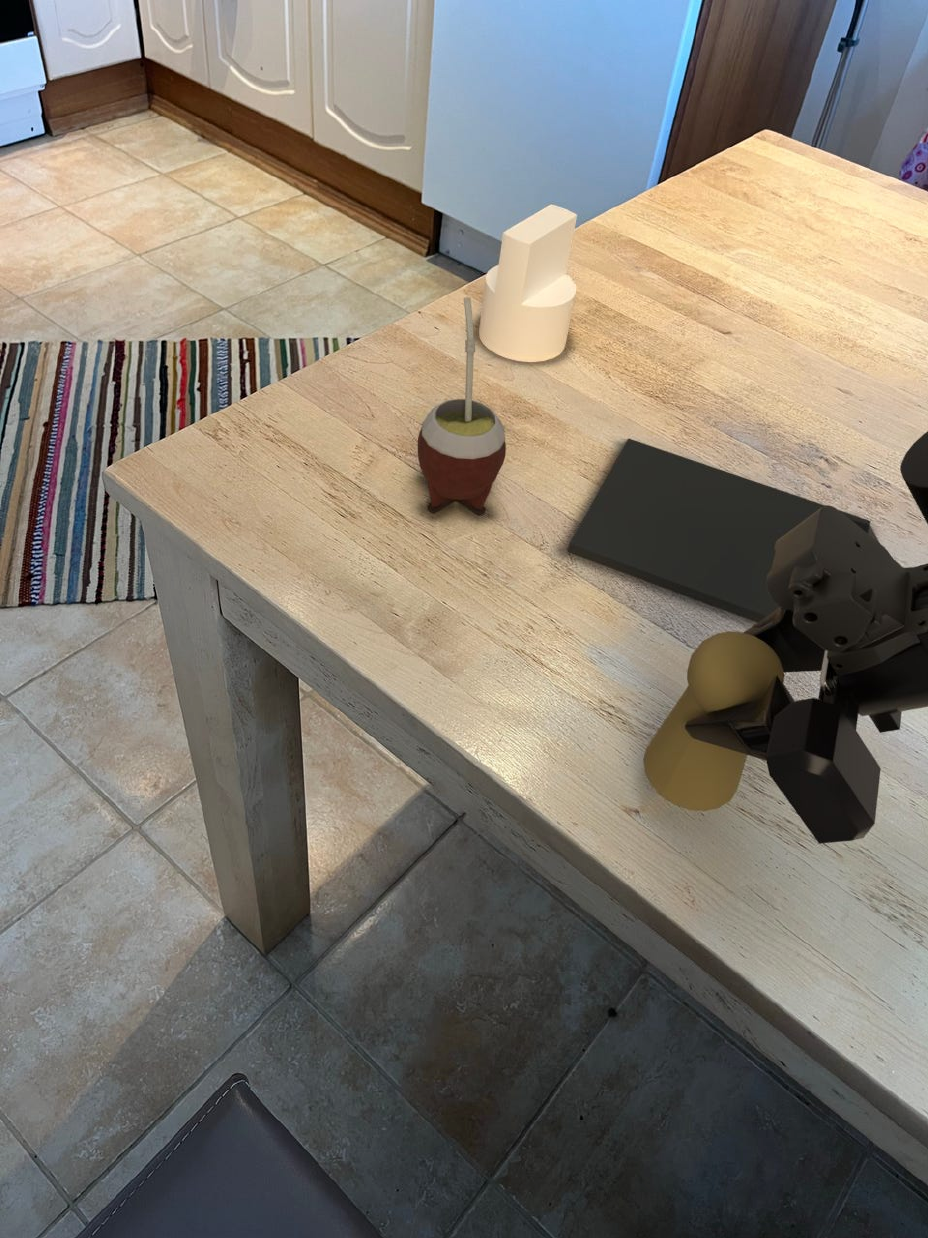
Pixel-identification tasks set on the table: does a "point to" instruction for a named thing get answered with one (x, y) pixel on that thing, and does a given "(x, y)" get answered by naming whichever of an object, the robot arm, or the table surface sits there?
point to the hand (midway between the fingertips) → (698, 696)
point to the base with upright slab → (531, 289)
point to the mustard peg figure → (716, 681)
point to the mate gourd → (461, 444)
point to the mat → (690, 528)
